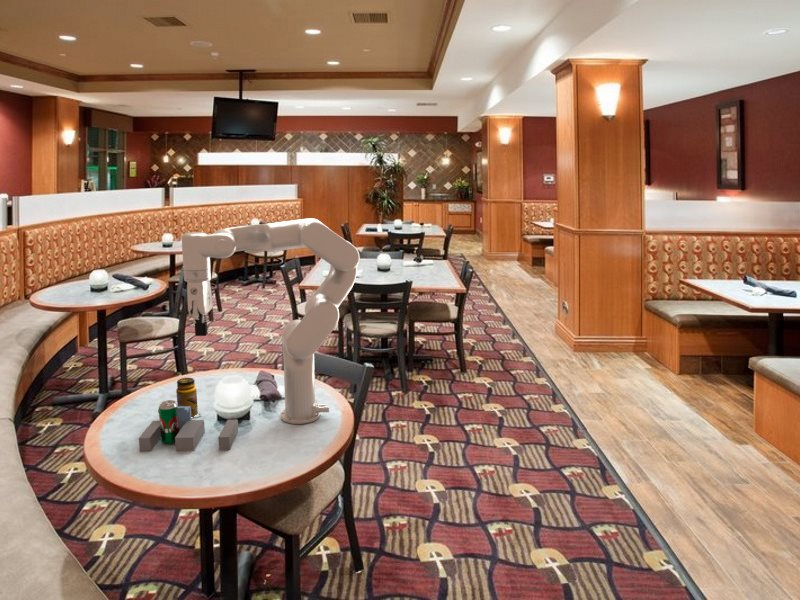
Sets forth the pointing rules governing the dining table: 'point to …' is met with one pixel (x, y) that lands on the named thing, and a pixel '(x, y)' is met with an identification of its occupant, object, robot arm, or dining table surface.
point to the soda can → (168, 421)
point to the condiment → (187, 394)
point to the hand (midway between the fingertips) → (201, 335)
